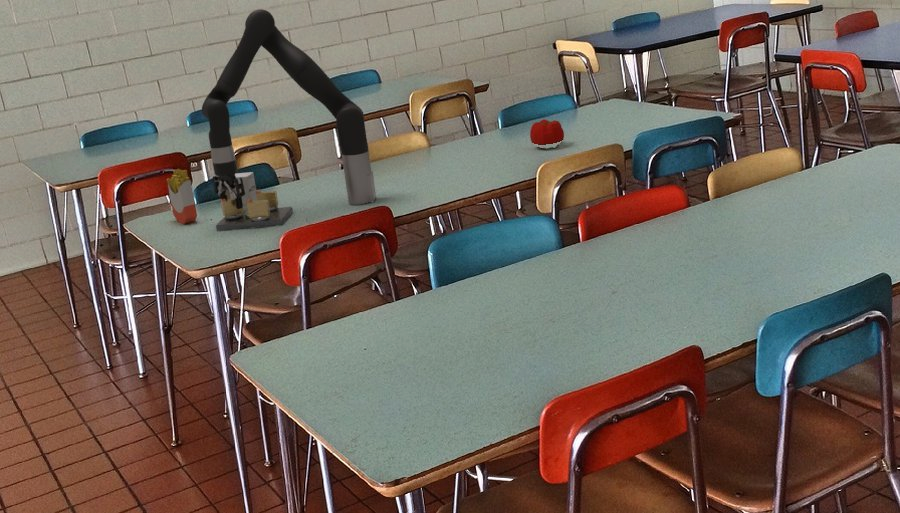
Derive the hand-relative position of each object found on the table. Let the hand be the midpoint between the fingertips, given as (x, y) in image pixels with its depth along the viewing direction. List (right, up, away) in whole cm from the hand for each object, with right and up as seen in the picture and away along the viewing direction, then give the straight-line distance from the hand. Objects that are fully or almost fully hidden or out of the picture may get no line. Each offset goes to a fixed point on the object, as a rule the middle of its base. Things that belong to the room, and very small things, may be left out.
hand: (232, 207), depth 348 cm
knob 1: (0, -3, +1) cm, 3 cm away
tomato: (+111, +26, +62) cm, 130 cm away
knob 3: (+10, -4, -6) cm, 13 cm away
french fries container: (-19, -4, +12) cm, 23 cm away
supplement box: (+1, 0, +19) cm, 19 cm away
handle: (-9, +4, +36) cm, 37 cm away
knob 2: (+11, 0, +6) cm, 13 cm away
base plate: (+8, -5, +1) cm, 9 cm away
